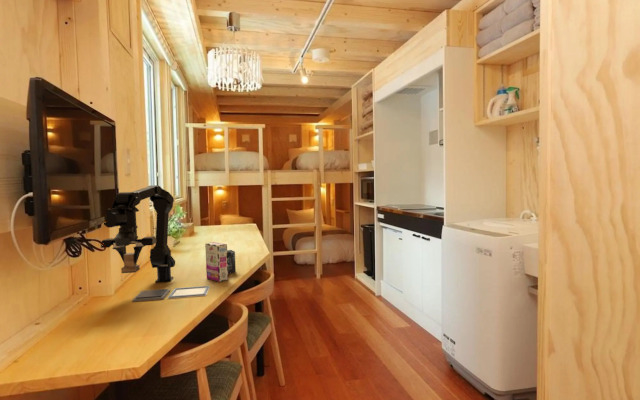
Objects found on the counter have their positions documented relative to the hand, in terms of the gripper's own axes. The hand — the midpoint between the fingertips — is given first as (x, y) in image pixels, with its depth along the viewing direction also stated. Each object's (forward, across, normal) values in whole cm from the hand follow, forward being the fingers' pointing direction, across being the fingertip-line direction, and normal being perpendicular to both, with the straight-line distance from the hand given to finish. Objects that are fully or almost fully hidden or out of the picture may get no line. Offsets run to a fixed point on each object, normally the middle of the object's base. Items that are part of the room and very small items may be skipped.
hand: (130, 263), depth 143 cm
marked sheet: (+13, +22, -1) cm, 26 cm away
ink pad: (+13, +8, -2) cm, 15 cm away
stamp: (+3, 0, 0) cm, 3 cm away
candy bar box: (+13, +31, +17) cm, 38 cm away
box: (+13, +33, +28) cm, 46 cm away
